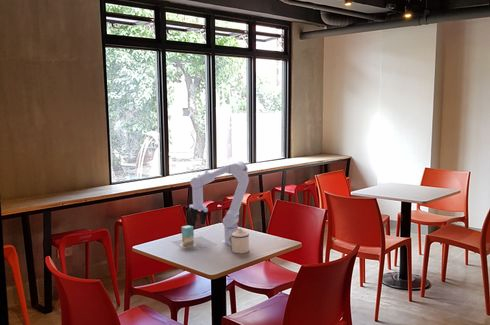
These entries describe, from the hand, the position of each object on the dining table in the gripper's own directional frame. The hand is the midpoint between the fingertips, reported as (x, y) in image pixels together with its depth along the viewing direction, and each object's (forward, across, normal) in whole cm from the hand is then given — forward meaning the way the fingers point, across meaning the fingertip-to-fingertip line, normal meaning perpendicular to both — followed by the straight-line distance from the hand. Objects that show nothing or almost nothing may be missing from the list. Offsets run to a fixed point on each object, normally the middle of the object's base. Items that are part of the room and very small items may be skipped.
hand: (198, 222), depth 254 cm
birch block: (+9, -5, +11) cm, 15 cm away
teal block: (+4, -5, +11) cm, 13 cm away
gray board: (+10, -4, +7) cm, 13 cm away
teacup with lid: (+10, -30, -3) cm, 31 cm away
